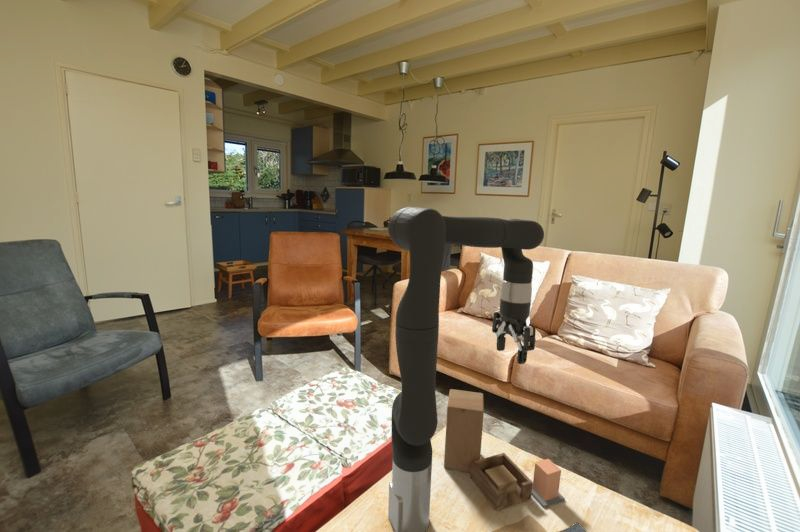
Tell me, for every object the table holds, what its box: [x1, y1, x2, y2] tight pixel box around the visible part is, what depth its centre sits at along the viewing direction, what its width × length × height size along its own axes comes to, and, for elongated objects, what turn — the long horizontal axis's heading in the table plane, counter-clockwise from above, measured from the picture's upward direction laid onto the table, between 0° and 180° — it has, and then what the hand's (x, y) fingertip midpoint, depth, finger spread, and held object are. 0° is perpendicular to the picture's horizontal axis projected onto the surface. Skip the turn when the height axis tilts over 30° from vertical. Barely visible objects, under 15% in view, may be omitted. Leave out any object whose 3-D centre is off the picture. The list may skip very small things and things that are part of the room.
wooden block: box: [443, 388, 485, 474], centre depth 111 cm, size 10×10×20 cm
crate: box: [470, 452, 533, 512], centre depth 102 cm, size 11×12×5 cm
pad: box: [531, 485, 566, 509], centre depth 101 cm, size 7×7×1 cm
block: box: [532, 458, 562, 501], centre depth 100 cm, size 4×4×8 cm
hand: (510, 356), depth 100 cm, fingers open, 8 cm apart
